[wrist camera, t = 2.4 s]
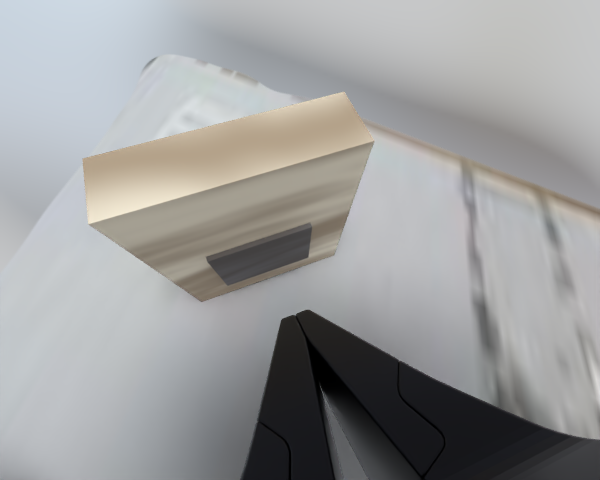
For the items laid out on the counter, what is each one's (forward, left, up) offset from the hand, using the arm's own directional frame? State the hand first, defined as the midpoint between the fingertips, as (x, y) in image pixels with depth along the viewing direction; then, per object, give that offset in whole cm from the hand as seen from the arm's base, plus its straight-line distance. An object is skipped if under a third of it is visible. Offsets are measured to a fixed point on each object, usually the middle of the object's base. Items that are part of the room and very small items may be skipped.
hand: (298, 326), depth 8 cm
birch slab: (+7, 0, -13) cm, 15 cm away
